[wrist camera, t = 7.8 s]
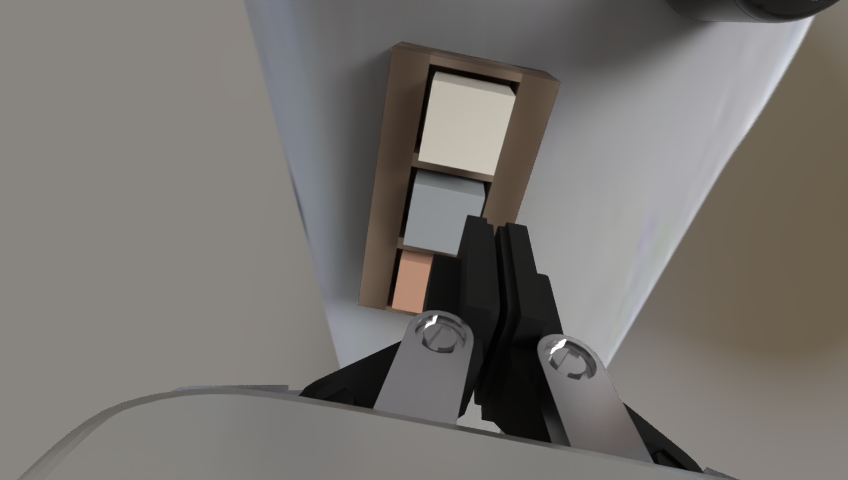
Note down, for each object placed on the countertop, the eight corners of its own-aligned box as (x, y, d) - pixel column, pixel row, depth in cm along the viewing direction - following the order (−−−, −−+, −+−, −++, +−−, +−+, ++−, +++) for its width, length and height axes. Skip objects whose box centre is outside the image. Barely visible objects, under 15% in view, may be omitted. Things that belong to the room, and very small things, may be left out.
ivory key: (436, 70, 28) (433, 79, 25) (508, 86, 28) (515, 96, 25) (422, 143, 31) (418, 160, 27) (489, 156, 31) (493, 175, 27)
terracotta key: (406, 235, 37) (400, 259, 33) (462, 246, 37) (462, 271, 33) (397, 281, 39) (391, 307, 36) (450, 291, 39) (449, 319, 36)
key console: (368, 273, 41) (357, 304, 37) (401, 41, 31) (392, 47, 27) (478, 294, 41) (480, 328, 37) (546, 72, 31) (560, 82, 27)
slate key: (419, 164, 32) (414, 182, 29) (482, 177, 33) (485, 197, 29) (408, 220, 35) (403, 244, 31) (467, 232, 35) (468, 257, 31)
